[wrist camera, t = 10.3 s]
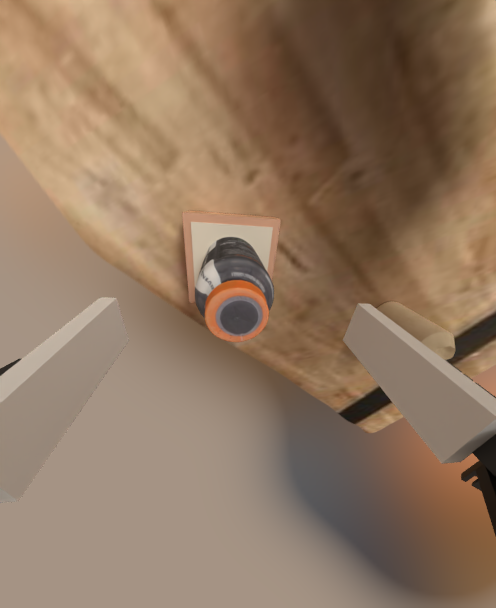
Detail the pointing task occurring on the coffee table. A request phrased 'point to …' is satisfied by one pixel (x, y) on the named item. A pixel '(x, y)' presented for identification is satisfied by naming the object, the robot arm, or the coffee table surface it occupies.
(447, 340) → the candle
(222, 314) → the pill bottle
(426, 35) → the coffee table surface
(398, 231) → the coffee table surface
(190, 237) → the riser
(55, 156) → the coffee table surface
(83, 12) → the coffee table surface
